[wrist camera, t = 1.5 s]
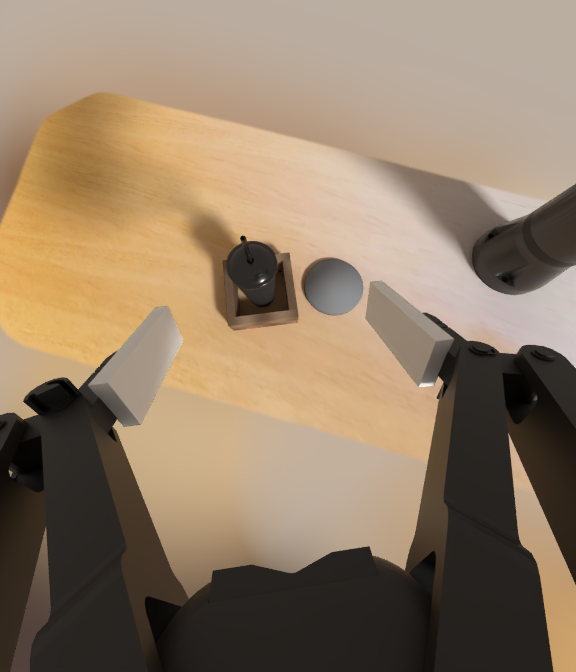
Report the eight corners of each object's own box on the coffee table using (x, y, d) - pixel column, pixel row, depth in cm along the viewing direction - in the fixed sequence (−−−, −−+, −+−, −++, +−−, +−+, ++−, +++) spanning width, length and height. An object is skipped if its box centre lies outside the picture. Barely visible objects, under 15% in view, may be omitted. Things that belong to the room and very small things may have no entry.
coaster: (356, 258, 47) (357, 256, 47) (366, 311, 45) (368, 310, 45) (301, 264, 47) (301, 262, 46) (309, 318, 45) (309, 317, 44)
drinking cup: (253, 320, 45) (226, 278, 25) (238, 288, 46) (201, 225, 27) (287, 304, 46) (286, 250, 26) (270, 273, 47) (257, 200, 27)
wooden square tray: (289, 264, 47) (289, 252, 43) (297, 322, 45) (298, 316, 41) (228, 271, 47) (222, 260, 43) (234, 330, 45) (228, 325, 40)
